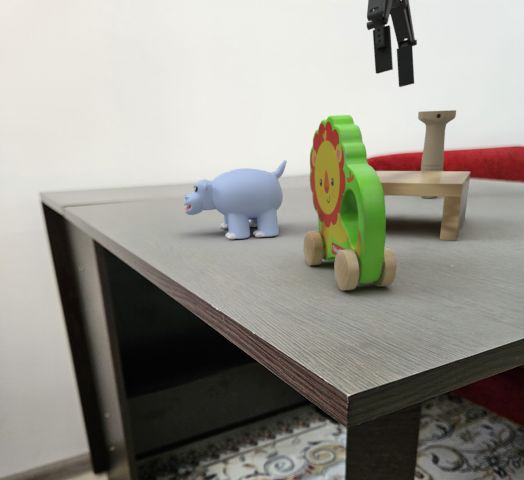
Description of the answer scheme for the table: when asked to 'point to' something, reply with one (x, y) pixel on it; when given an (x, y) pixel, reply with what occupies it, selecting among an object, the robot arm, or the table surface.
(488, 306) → the table surface
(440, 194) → the shelf stand
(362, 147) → the toy lion
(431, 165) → the handle
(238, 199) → the hippopotamus toy
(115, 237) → the table surface
